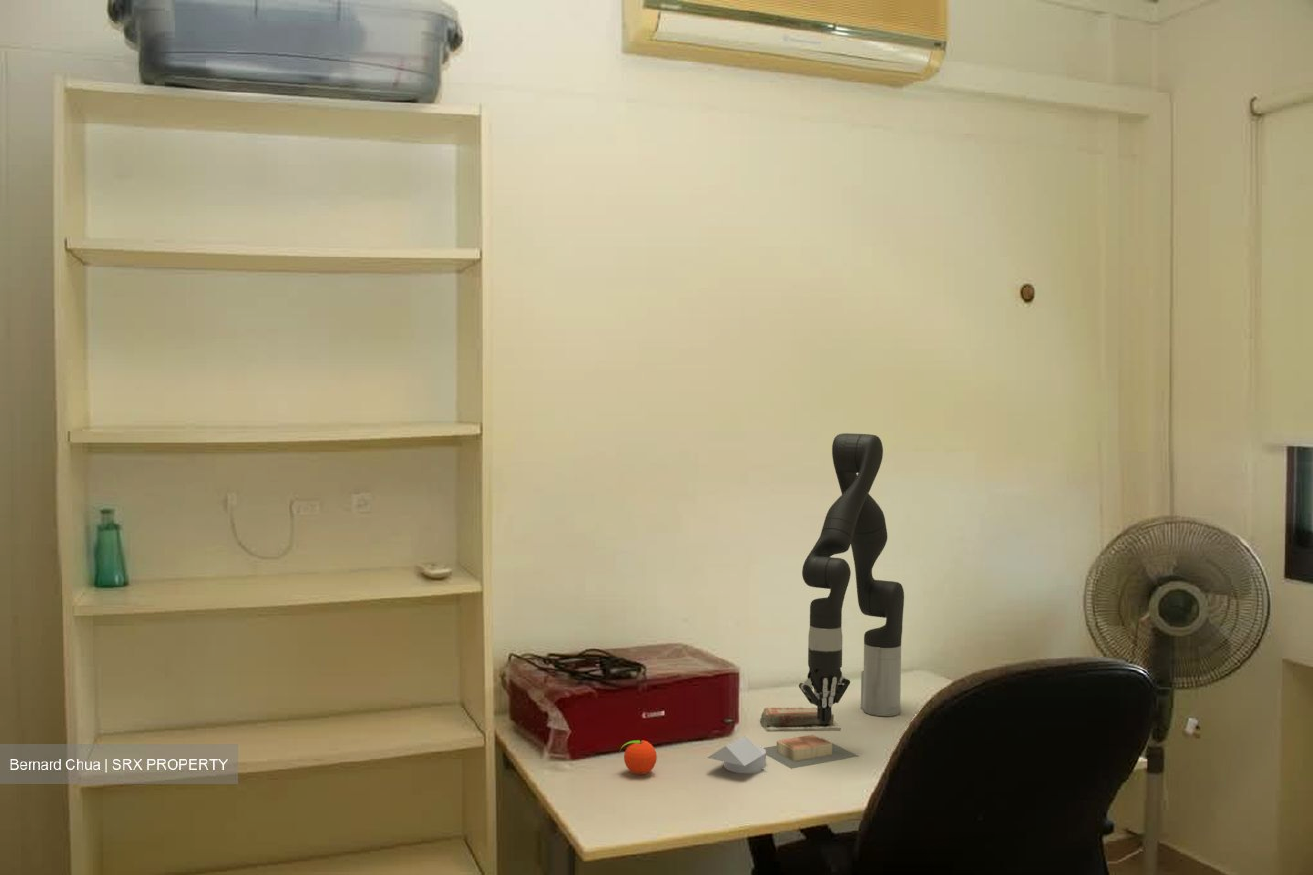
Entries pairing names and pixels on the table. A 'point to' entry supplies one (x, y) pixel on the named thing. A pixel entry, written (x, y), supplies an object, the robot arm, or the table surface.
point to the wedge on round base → (742, 756)
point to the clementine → (640, 756)
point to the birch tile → (804, 747)
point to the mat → (837, 754)
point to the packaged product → (795, 720)
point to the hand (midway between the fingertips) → (824, 722)
